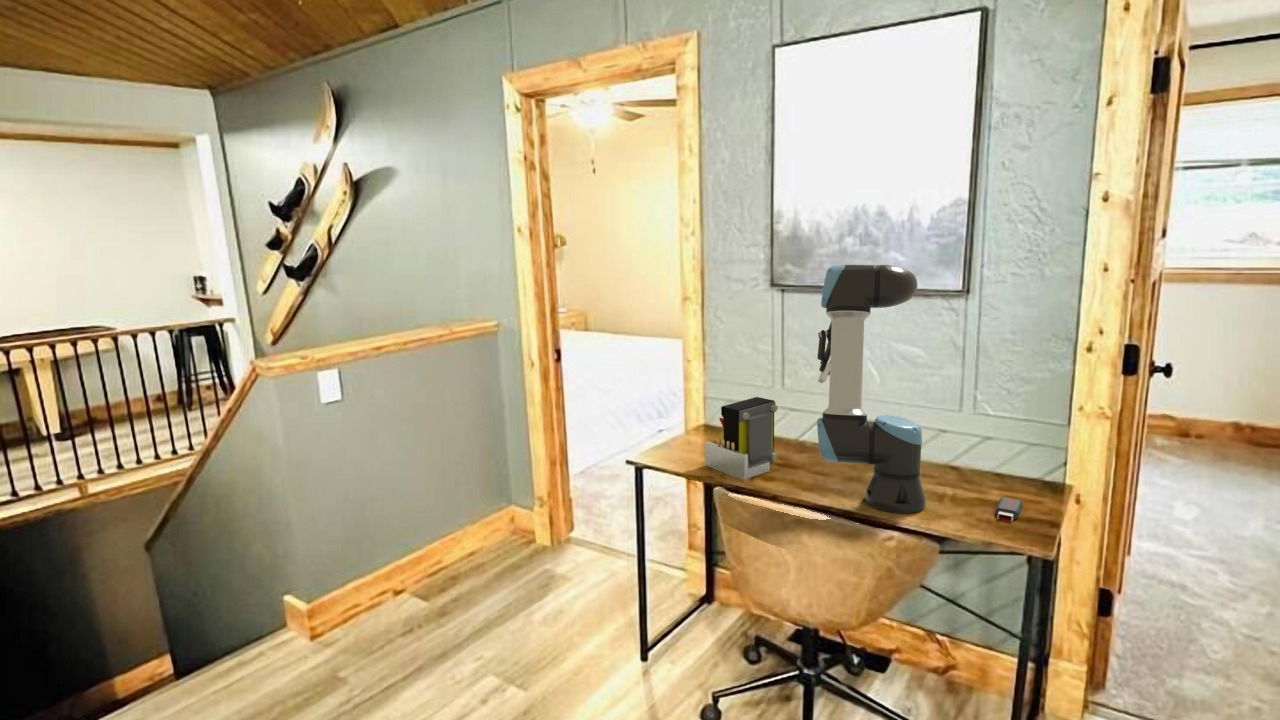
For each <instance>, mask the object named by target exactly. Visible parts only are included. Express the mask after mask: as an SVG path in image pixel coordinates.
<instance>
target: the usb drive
mask: <svg viewBox="0 0 1280 720" xmlns="http://www.w3.org/2000/svg"><path fill="white" fill-rule="evenodd" d="M1023 509H1024V501H1022V500H1021V499H1015V498H1010V497H1006V496H1002V497H1000V499H999V501H998V503H997V505H996V507H995V513H994V514H995V515H996V516H997V518H996V519H997V520H1000V519H1002V520H1001V521H1005V520H1006V521H1005V522H1009V521H1011V522H1010V523H1013V520H1014V519H1015V520H1018V519H1019V517H1020V516H1021V513H1022V510H1023Z"/></svg>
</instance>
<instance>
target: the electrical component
mask: <svg viewBox="0 0 1280 720" xmlns="http://www.w3.org/2000/svg"><path fill="white" fill-rule="evenodd" d="M720 409H721V410H720V415H721V416H722V417H719V422H720V425H721V426H722V428H723V439H724V440H725V447H727V441H730V448H731V443H732V442H734V450H737V451H740V452H743V453H746V454H748V466H751V465H754V464H757V463H760V462H763V461H769V462H770V463H771V462H772V461H775V460H777V457H778V455H777V453H776V452H775V451H776V449H775V413H777V411H778V406H777V404H776V401H775V399H774V400H773V399H768V398H763V397H758V396H755V397H751V398H747V399H744V400H740V401H737V402H733V403H730V404H726V405H722V406H721V408H720Z"/></svg>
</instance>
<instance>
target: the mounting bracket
mask: <svg viewBox="0 0 1280 720" xmlns="http://www.w3.org/2000/svg"><path fill="white" fill-rule="evenodd" d="M704 454H705V455H704V459H705V460H704V463H705V465H704V466H705V467H706V466H707V467H706V468H708V467H710V468H709V469H711V468H713V469H712V470H714V469H715V470H714V471H717V470H718V471H717V472H720V471H721V472H720V473H722V472H723V473H722V474H725V475H728V476H730V477H734V478H736V479H739V480H741V481H747V480H748V479H750V478H753V477H756V476H759V475H761V474H764V473H768V472H770V471H771V469H770V468H771V461H770V462H769V461H763V462H760V463H757V464H754V465H751V466H748V454H746V453H743V452H740V451H737V450H734V442H732V443H731V448H730V441H727V447H725V440H724V438H723V439H722V440H721V438H720V437H718V438H717V443H714V442H711V441H705V442H704Z"/></svg>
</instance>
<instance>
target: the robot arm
mask: <svg viewBox="0 0 1280 720" xmlns="http://www.w3.org/2000/svg"><path fill="white" fill-rule="evenodd" d="M825 273H826V274H825V277H824V281H823V282H824V283H823V288H822V292H821V293H822V294H821V301H820V302H821V303H820V304H821V308H824V309H825V310H826V311H825V312H826V315H827V316H828V318H830V320H831V321H830V324H829V326H828V329H826V330H825V329H822V330H820V331H819V332H818V333H817V335H818V348H817V358H816V359H817V360H819V361H820V366H819V372H820V373H819V377H818V380H817V382H818V383H820V384H823V383H825V382H826V381H827V380H828V376H829V389H828V406H827V408H825V409H824V410H823V411H822V417H820V418H817V420H816V425H817V438H818V447H819V453H820V454H819V455H820V458H822V459H823V460H824V461H827V462H834V463H838V464H839V463H846V464H847V463H849V464H857V465H858V464H860V465H861V464H862V465H870V466H871V465H873V473H872V476H871V478H870V481H869V483H868V486H867V488H866V491H865V501H866V503H867V504H868V505H869V506H871V507H873V508H874V509H878V510H880V511H884V512H887V513H895V514H913V512H915V513H919V512H921V511H923V510H925V509H926V503H927V502H926V501H927V497H926V495H925V491H924V488H923V485H922V482H921V481H922V480H921V462H922V461H921V459H922V445H923V431H922V427H921V426H920V425H919V424H918V423H916V422H915V421H913V420H910V419H908V418H905V417H901V416H895V415H890V414H889V415H888V414H886V415H885V414H884V415H882V414H881V415H877V416H876V418H875V419H874V421H869V420H868V414H867V412H866V411H865V410H863V407H862V403H863V402H862V400H863V369H864V368H863V367H864V339H865V338H864V337H865V321H866V319H867V318H868V317H869V316H870V315H871V309H873V308H874V309H877V308H879V309H881V308H882V309H883V308H891V307H895V306H899V305H901V304H905V303H907V302H909V301H910V300H911V299H912V298H913V297H914V296H915V295H916V293H917V290H918V280H917V278H916V275H914V273H913V272H911V271H910V270H908V269H906V268H904V267H900V266H896V265H890V264H843V265H832V266H830V267H828V268H827V270H826V272H825ZM918 511H919V512H918Z"/></svg>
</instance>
